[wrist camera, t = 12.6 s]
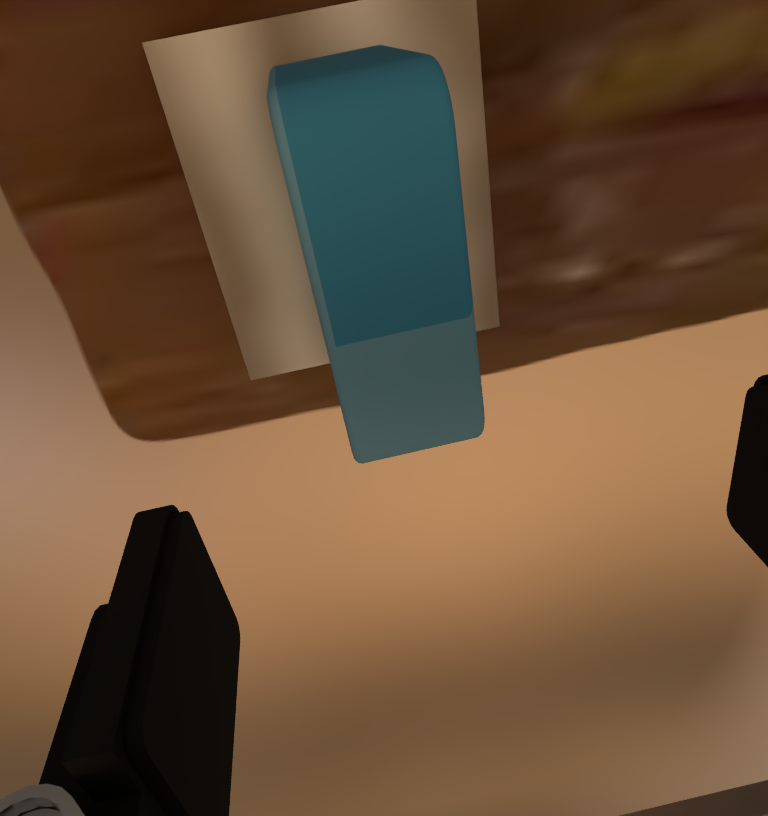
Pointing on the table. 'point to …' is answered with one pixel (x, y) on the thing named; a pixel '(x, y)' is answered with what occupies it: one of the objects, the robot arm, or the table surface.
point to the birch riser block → (261, 168)
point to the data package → (383, 242)
